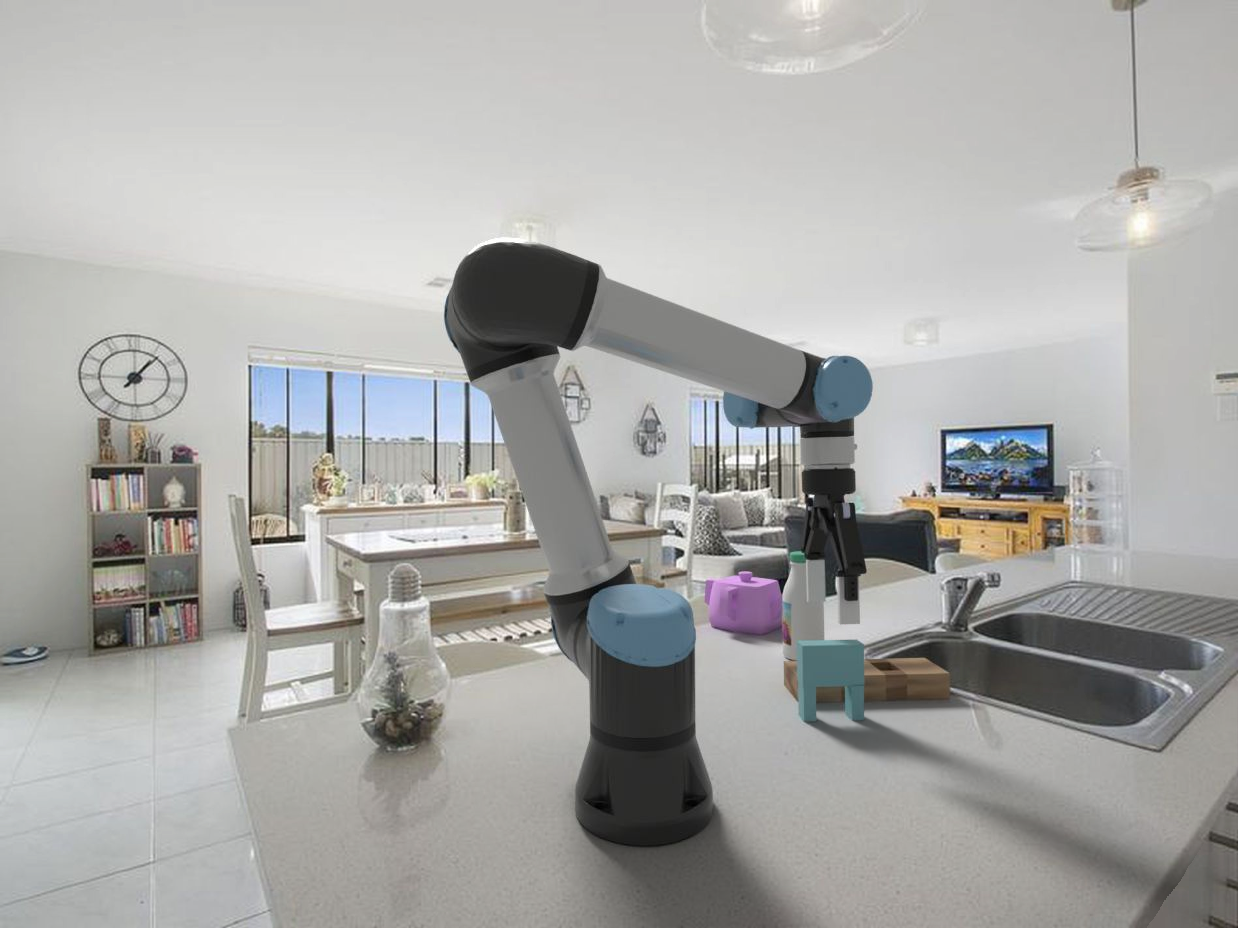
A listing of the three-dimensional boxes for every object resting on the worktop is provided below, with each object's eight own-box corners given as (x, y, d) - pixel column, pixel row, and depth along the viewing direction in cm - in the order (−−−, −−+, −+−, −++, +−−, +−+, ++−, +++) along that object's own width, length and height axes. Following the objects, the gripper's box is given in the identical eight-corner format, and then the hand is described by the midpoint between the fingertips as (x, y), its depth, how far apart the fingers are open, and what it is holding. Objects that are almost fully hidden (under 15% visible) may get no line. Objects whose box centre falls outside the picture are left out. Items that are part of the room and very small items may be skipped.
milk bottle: (829, 654, 126) (828, 551, 126) (818, 665, 119) (816, 556, 119) (790, 648, 130) (788, 548, 130) (777, 659, 123) (775, 553, 123)
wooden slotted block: (950, 698, 102) (949, 673, 102) (798, 702, 101) (798, 676, 101) (924, 681, 110) (924, 657, 110) (784, 684, 109) (783, 660, 109)
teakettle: (701, 618, 156) (700, 567, 156) (770, 615, 158) (769, 564, 158) (719, 637, 139) (719, 580, 139) (796, 634, 141) (795, 577, 141)
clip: (864, 719, 94) (863, 644, 94) (803, 721, 94) (802, 645, 94) (857, 712, 97) (856, 639, 97) (797, 714, 97) (796, 640, 97)
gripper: (891, 467, 83) (895, 633, 83) (824, 465, 108) (827, 592, 108) (832, 469, 83) (836, 635, 83) (779, 466, 108) (782, 594, 108)
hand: (831, 611), depth 95 cm, fingers open, 13 cm apart
